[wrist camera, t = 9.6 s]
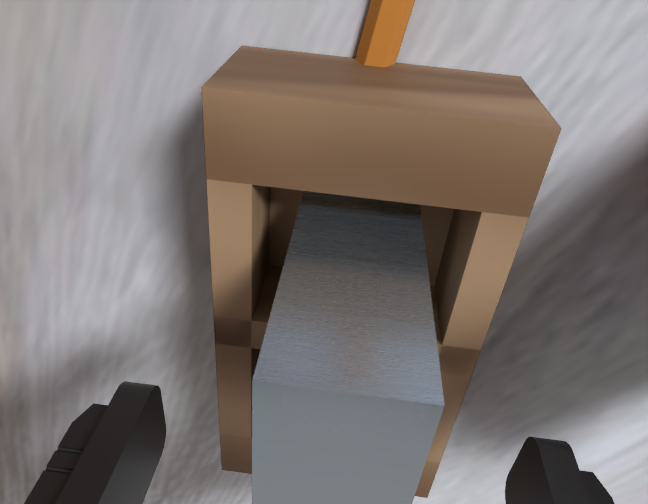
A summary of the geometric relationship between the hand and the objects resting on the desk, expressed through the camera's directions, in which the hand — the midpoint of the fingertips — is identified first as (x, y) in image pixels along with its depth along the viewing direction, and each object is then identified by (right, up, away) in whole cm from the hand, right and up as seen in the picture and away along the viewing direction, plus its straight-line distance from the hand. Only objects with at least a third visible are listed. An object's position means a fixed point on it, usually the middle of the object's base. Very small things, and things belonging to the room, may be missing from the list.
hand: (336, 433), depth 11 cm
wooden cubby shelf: (+1, +3, +5) cm, 6 cm away
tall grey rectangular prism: (0, +3, +4) cm, 5 cm away
